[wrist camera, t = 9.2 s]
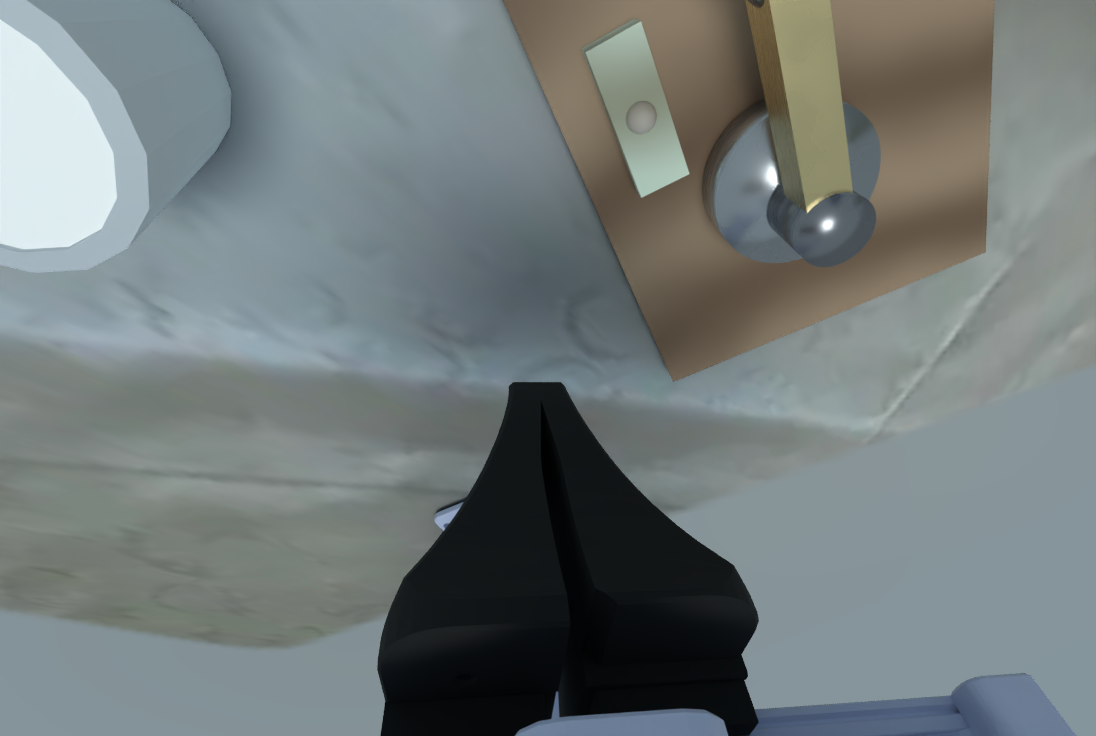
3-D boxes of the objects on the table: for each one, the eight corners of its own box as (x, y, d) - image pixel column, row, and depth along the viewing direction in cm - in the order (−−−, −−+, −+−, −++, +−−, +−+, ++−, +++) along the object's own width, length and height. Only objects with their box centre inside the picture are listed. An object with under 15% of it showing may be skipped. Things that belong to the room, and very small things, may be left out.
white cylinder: (291, 157, 19) (210, 238, 14) (113, 206, 20) (-36, 303, 14) (166, -90, 15) (-26, -121, 9) (-57, -22, 15) (-366, -13, 10)
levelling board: (968, 242, 24) (1011, 267, 22) (667, 369, 26) (681, 401, 24) (976, -365, 13) (1059, -420, 11) (480, -50, 16) (480, -51, 14)
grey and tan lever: (862, 206, 21) (931, 251, 18) (723, 267, 22) (763, 321, 19) (825, -135, 15) (920, -162, 11) (634, -25, 16) (672, -21, 13)
